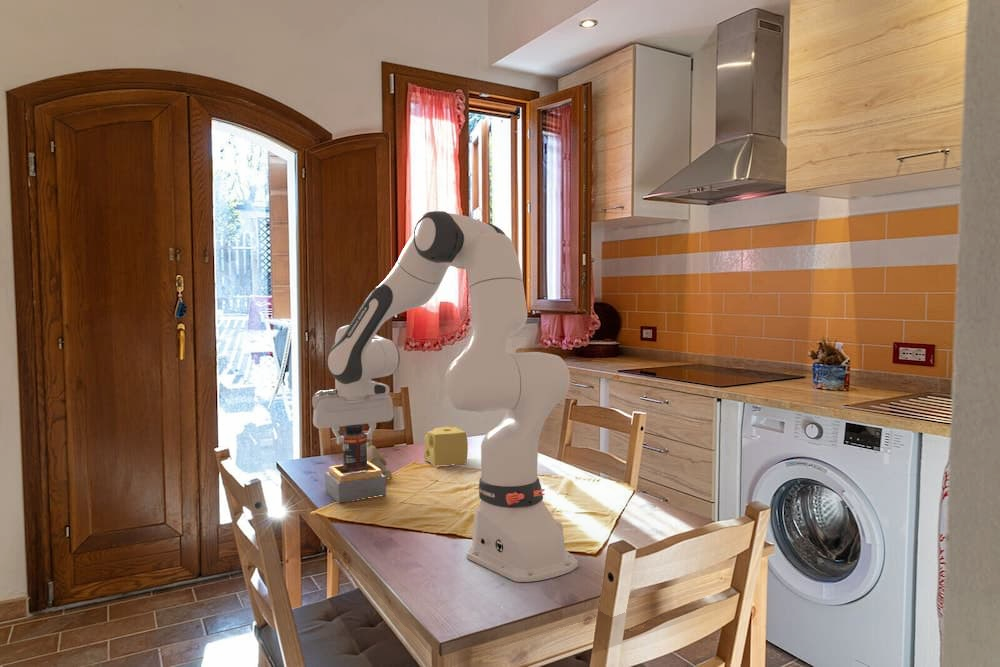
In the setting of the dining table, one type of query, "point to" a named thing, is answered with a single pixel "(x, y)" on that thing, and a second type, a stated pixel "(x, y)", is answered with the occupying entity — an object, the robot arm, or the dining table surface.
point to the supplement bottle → (354, 449)
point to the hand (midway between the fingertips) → (354, 442)
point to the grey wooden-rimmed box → (354, 483)
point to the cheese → (446, 446)
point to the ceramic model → (377, 459)
